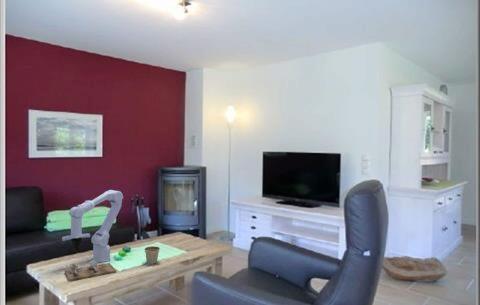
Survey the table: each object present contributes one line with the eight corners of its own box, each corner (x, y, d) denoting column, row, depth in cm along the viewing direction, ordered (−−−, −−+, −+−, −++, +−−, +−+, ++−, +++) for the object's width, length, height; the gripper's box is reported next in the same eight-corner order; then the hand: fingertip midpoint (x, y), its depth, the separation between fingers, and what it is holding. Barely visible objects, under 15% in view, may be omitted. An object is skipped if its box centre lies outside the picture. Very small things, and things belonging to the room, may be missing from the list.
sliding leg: (95, 265, 202) (95, 260, 202) (98, 270, 195) (98, 264, 195) (89, 266, 200) (89, 261, 200) (92, 271, 193) (93, 265, 193)
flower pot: (158, 259, 221) (158, 245, 220) (160, 264, 212) (161, 250, 212) (143, 260, 217) (143, 246, 217) (144, 265, 208) (145, 251, 208)
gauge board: (109, 264, 209) (109, 255, 208) (116, 272, 197) (116, 262, 197) (64, 273, 195) (64, 263, 195) (69, 281, 183) (69, 271, 183)
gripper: (63, 230, 196) (63, 254, 197) (91, 227, 205) (90, 250, 205) (61, 228, 202) (61, 251, 202) (88, 225, 210) (88, 247, 211)
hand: (76, 250), depth 204 cm, fingers closed
